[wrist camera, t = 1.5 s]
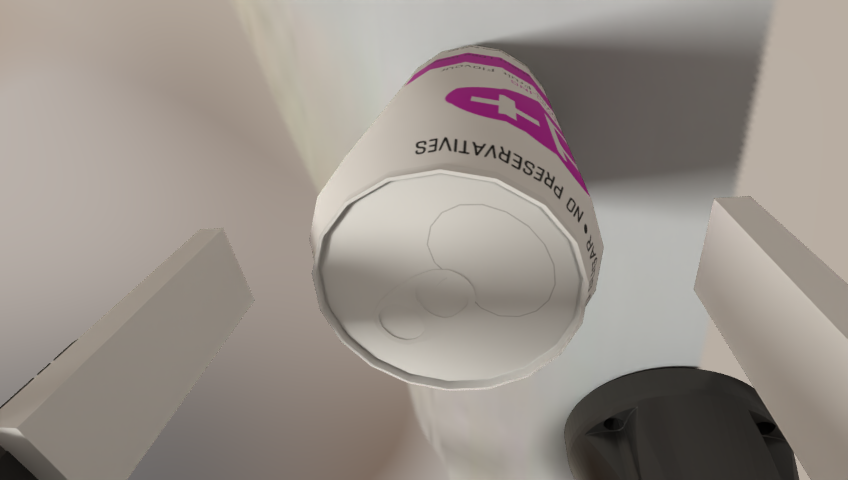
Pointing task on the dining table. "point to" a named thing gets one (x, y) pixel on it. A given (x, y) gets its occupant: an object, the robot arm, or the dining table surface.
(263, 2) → the dining table surface
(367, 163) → the supplement can
